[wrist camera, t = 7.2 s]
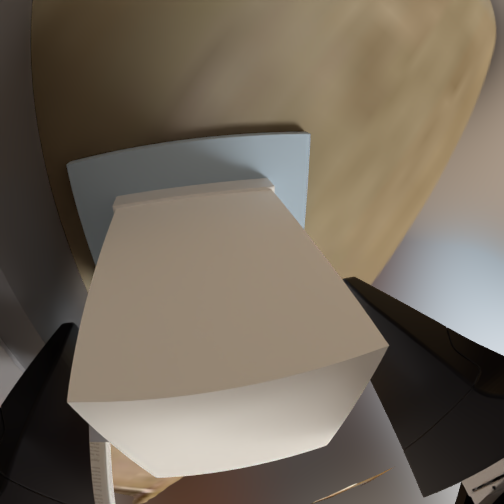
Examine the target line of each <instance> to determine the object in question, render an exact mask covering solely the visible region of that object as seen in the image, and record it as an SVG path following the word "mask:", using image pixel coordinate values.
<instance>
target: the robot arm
mask: <svg viewBox="0 0 504 504" xmlns="http://www.w3.org/2000/svg"><path fill="white" fill-rule="evenodd" d="M342 280H343V281H344V283H345V284H346V285H347V287H348V288H349V289H350V291H351V292H352V293H353V295H354V296H355V298H356V299H357V300H358V302H359V303H360V305H361V306H362V307H363V309H364V310H365V312H366V313H367V314H368V316H369V317H370V319H371V320H372V321H373V323H374V324H375V326H376V327H377V329H378V330H379V331H380V333H381V334H382V336H383V337H384V339H385V340H386V342H387V343H388V345H389V346H388V348H387V350H386V352H385V354H384V356H383V358H382V360H381V361H380V363H379V365H378V367H377V369H376V370H375V372H374V374H373V376H372V377H371V379H370V380H371V382H372V384H373V387H374V389H375V391H376V393H377V395H378V397H379V399H380V401H381V403H382V405H383V407H384V409H385V412H386V414H387V415H388V418H389V420H390V422H391V424H392V426H393V429H394V431H395V433H396V435H397V437H398V440H399V442H400V444H401V446H402V449H403V450H404V453H405V456H406V458H407V460H408V462H409V465H410V467H411V469H412V472H413V474H414V476H415V479H416V481H417V484H418V486H419V488H420V491H421V493H422V495H423V497H426V496H429V495H431V494H434V493H437V492H439V491H441V490H444V489H446V488H448V487H451V486H453V485H455V484H457V483H459V482H461V485H460V489H459V492H458V496H457V499H456V502H455V504H504V356H503V355H501V354H498V353H496V352H494V351H492V350H490V349H488V348H486V347H484V346H481V345H479V344H477V343H475V342H473V341H471V340H469V339H467V338H466V337H464V336H462V335H460V334H458V333H456V332H455V331H453V330H451V329H449V328H446V326H444V325H442V324H440V323H439V322H437V321H435V320H433V319H431V318H430V317H428V316H426V315H424V314H422V313H420V312H419V311H417V310H415V309H413V308H411V307H410V306H408V305H406V304H404V303H402V302H401V301H399V300H397V299H395V298H393V297H391V296H390V295H388V294H386V293H384V292H382V291H380V290H378V289H376V288H375V287H373V286H371V285H369V284H367V283H365V282H364V281H362V280H360V279H358V278H356V277H349V278H344V279H342ZM78 333H79V328H78V326H77V325H76V324H75V323H74V322H69V323H63V324H61V325H60V327H59V328H58V329H57V330H56V332H55V333H54V334H53V335H52V336H51V338H50V339H49V340H48V341H47V343H46V344H45V345H44V346H43V348H42V349H41V350H40V352H39V353H38V354H37V355H36V357H35V358H34V359H33V361H32V362H31V363H30V365H29V366H28V367H27V369H26V370H25V371H24V373H23V374H22V376H21V377H20V378H19V380H18V381H17V383H16V384H15V385H14V387H13V388H12V390H11V391H10V393H9V394H8V396H7V397H6V398H5V400H4V401H3V403H2V404H1V407H0V504H95V500H94V492H93V483H92V473H91V460H90V441H89V423H87V422H86V421H85V420H84V419H83V418H82V417H81V416H80V415H79V414H78V413H77V412H76V411H75V410H74V409H73V408H72V407H71V406H70V405H69V404H68V403H67V397H68V389H69V382H70V375H71V369H72V363H73V358H74V352H75V347H76V342H77V337H78Z"/></svg>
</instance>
